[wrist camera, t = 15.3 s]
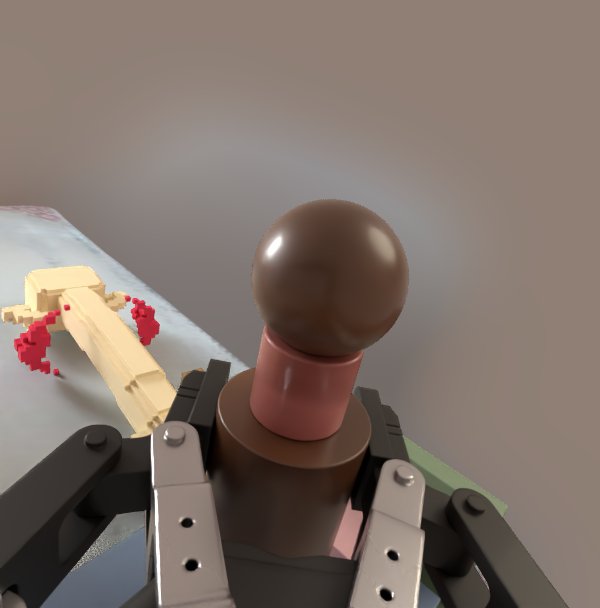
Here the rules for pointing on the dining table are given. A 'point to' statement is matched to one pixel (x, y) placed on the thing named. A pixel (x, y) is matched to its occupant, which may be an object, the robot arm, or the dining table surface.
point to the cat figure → (96, 339)
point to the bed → (131, 553)
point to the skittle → (305, 378)
